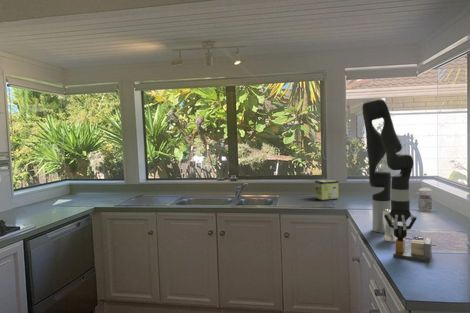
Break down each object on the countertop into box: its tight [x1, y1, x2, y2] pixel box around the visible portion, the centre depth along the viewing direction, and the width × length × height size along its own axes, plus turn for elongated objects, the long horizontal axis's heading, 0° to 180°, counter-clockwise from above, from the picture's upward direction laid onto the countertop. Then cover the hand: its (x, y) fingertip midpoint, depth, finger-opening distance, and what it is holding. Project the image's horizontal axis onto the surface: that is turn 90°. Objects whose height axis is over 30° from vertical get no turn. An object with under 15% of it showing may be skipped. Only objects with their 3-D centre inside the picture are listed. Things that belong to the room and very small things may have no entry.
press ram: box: [394, 224, 406, 253], centre depth 162 cm, size 7×3×11 cm, turn 148°
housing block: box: [410, 238, 425, 255], centre depth 158 cm, size 5×5×5 cm
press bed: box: [392, 236, 432, 263], centre depth 159 cm, size 12×14×8 cm
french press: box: [413, 173, 434, 213], centre depth 246 cm, size 10×12×25 cm
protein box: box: [314, 179, 339, 202], centre depth 295 cm, size 10×16×16 cm
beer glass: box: [383, 208, 397, 243], centre depth 182 cm, size 7×7×15 cm
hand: (400, 237), depth 162 cm, fingers closed on press ram, 2 cm apart
